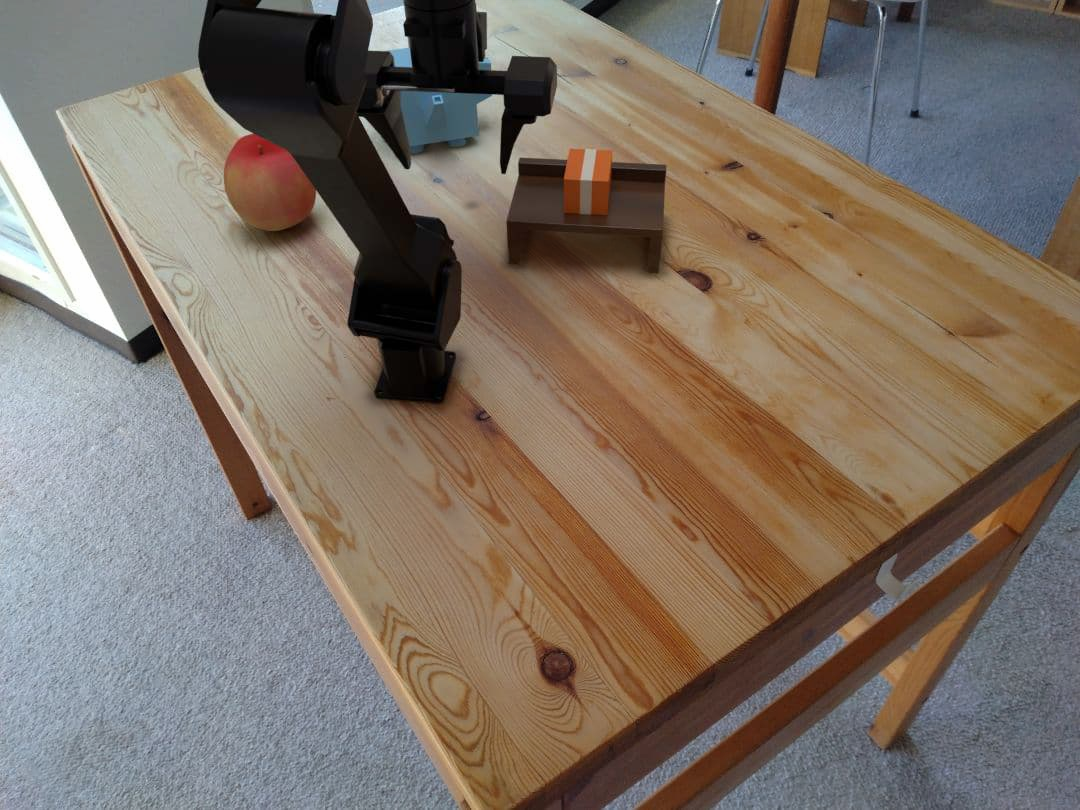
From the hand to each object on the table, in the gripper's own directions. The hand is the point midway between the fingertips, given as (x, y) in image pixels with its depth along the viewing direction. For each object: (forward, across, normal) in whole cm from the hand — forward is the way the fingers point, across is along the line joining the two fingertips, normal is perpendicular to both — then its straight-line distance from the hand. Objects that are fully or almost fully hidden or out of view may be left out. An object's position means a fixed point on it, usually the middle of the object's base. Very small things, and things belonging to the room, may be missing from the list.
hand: (456, 169), depth 80 cm
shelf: (+13, -12, -8) cm, 19 cm away
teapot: (+13, +10, -30) cm, 34 cm away
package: (+8, -12, -8) cm, 16 cm away
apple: (+13, +23, -8) cm, 28 cm away
